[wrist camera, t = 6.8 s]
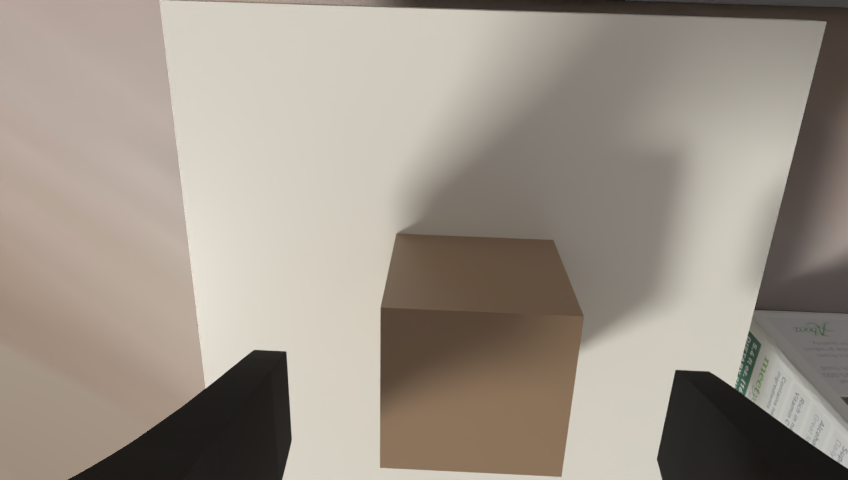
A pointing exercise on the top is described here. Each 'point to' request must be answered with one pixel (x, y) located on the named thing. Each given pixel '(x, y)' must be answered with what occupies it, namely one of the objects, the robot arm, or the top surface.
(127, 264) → the top surface
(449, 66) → the cover sheet
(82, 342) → the top surface
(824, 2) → the charcoal mat
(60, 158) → the top surface
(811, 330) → the syrup box
